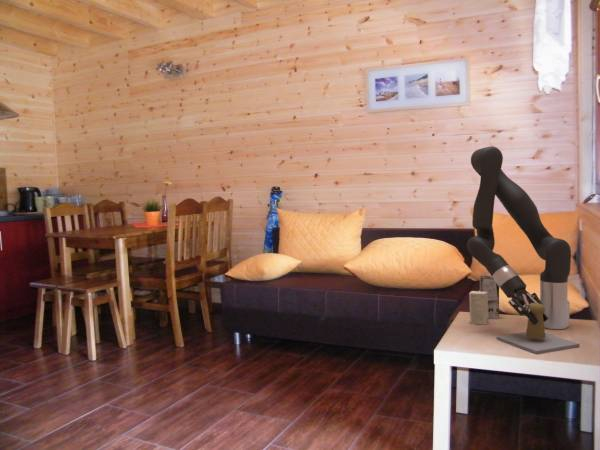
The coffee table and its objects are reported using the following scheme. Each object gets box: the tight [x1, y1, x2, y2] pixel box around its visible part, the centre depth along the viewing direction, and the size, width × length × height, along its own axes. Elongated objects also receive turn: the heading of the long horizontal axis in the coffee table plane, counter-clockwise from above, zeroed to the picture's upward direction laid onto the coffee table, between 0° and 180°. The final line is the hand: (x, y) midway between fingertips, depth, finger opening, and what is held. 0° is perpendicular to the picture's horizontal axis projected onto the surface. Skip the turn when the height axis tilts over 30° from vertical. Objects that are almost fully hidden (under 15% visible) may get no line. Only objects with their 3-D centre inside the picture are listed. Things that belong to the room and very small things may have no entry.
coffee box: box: [479, 275, 500, 320], centre depth 211 cm, size 9×6×16 cm
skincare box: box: [468, 290, 489, 326], centre depth 201 cm, size 6×4×12 cm
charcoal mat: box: [495, 331, 580, 355], centre depth 174 cm, size 18×18×1 cm
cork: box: [525, 303, 546, 338], centre depth 174 cm, size 6×6×11 cm
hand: (541, 321), depth 172 cm, fingers closed on cork, 5 cm apart
